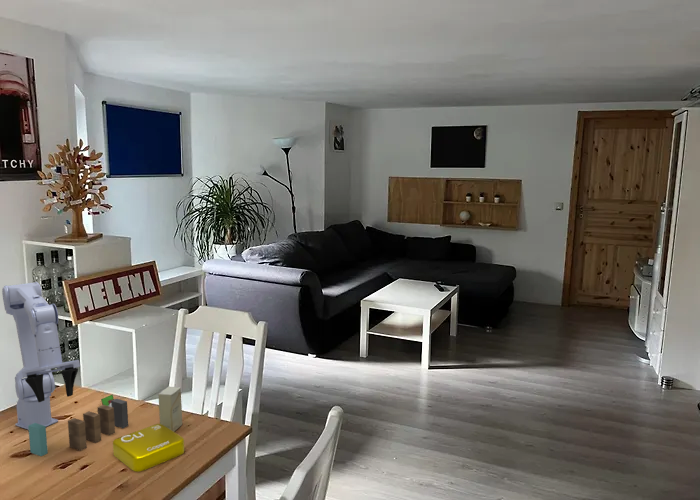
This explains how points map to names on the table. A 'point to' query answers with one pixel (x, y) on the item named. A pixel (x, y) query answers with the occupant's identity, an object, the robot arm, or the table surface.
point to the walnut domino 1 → (77, 434)
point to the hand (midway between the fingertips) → (55, 398)
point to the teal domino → (38, 439)
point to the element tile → (148, 447)
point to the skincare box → (170, 408)
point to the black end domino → (120, 413)
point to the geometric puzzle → (107, 400)
